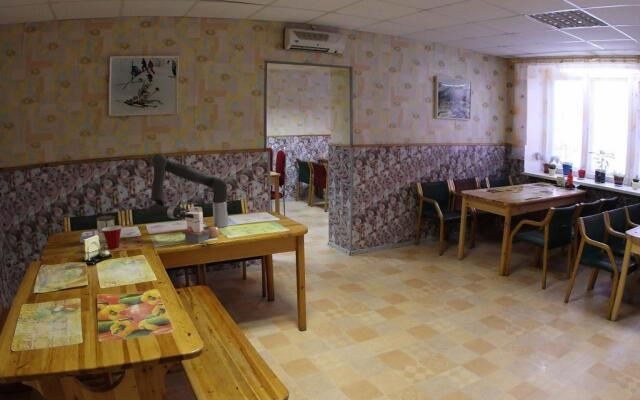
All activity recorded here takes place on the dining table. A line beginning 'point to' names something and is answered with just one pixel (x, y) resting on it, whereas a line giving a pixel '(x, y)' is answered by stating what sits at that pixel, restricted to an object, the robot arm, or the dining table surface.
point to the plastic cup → (112, 236)
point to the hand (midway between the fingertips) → (197, 215)
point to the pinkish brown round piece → (213, 232)
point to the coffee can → (104, 225)
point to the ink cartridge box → (195, 220)
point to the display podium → (197, 236)
